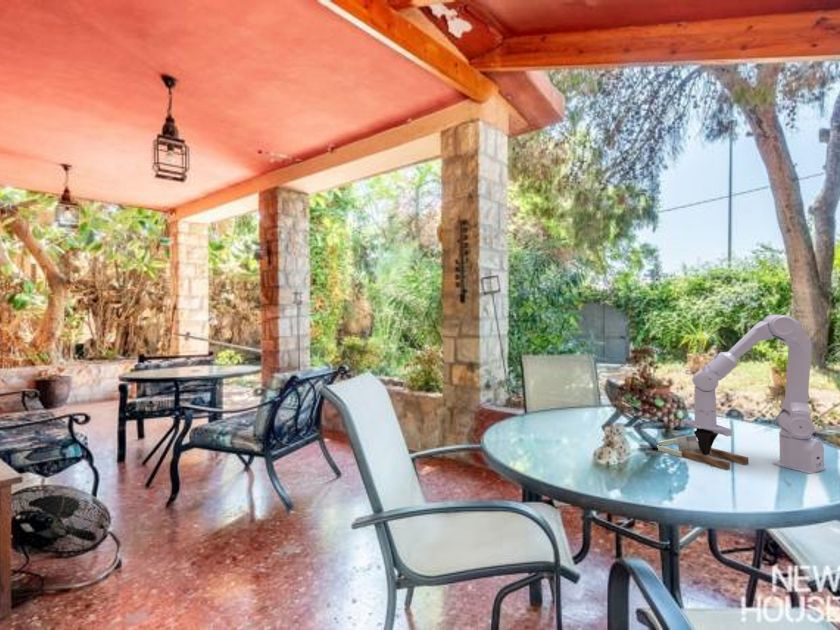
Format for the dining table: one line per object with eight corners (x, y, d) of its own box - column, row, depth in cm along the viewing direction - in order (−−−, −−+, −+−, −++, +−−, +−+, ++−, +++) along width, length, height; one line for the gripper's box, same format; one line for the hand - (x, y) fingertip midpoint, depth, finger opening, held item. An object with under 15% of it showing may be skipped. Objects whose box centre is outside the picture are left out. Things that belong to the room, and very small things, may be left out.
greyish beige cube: (699, 450, 147) (695, 435, 148) (689, 451, 146) (685, 436, 147) (689, 450, 151) (686, 435, 152) (679, 451, 150) (676, 437, 151)
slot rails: (748, 464, 136) (748, 457, 136) (726, 470, 132) (726, 463, 132) (702, 451, 149) (702, 445, 149) (681, 456, 145) (681, 450, 145)
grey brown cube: (711, 455, 143) (708, 440, 144) (701, 456, 142) (697, 441, 143) (701, 455, 147) (698, 440, 148) (691, 456, 146) (687, 441, 147)
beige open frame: (705, 451, 149) (705, 446, 149) (681, 457, 144) (680, 452, 144) (674, 442, 159) (674, 438, 159) (650, 447, 154) (650, 443, 154)
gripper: (674, 407, 147) (675, 449, 147) (720, 416, 134) (721, 463, 134) (689, 404, 150) (690, 446, 150) (736, 413, 137) (736, 459, 137)
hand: (706, 454), depth 142 cm, fingers closed, pressing on grey brown cube
